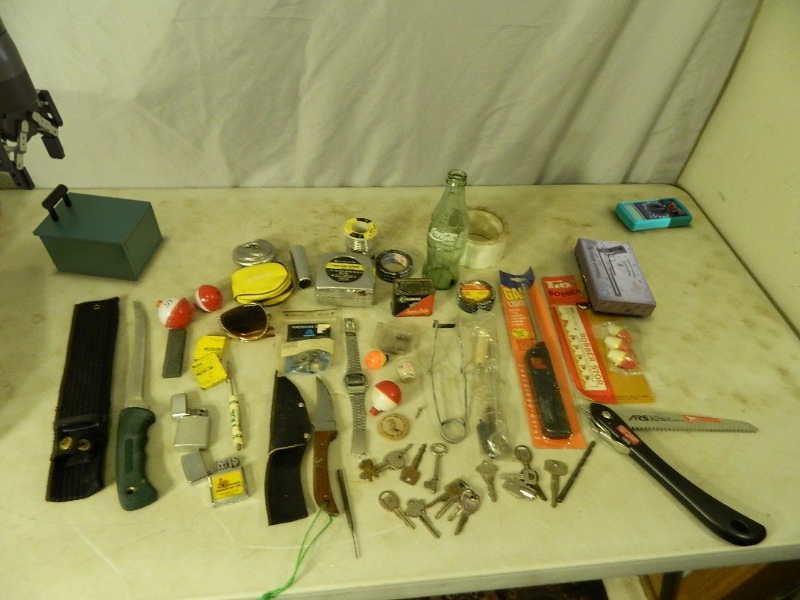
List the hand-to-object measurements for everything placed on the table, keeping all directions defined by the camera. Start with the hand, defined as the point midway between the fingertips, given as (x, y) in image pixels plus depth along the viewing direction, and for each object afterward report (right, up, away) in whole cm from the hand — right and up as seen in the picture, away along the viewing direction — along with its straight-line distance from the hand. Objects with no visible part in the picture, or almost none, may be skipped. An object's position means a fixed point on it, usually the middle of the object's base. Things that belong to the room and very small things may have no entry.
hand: (43, 172), depth 82 cm
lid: (+4, -6, +6) cm, 10 cm away
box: (+94, -17, +16) cm, 97 cm away
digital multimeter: (+109, -3, +31) cm, 113 cm away
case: (+4, -12, +12) cm, 17 cm away
